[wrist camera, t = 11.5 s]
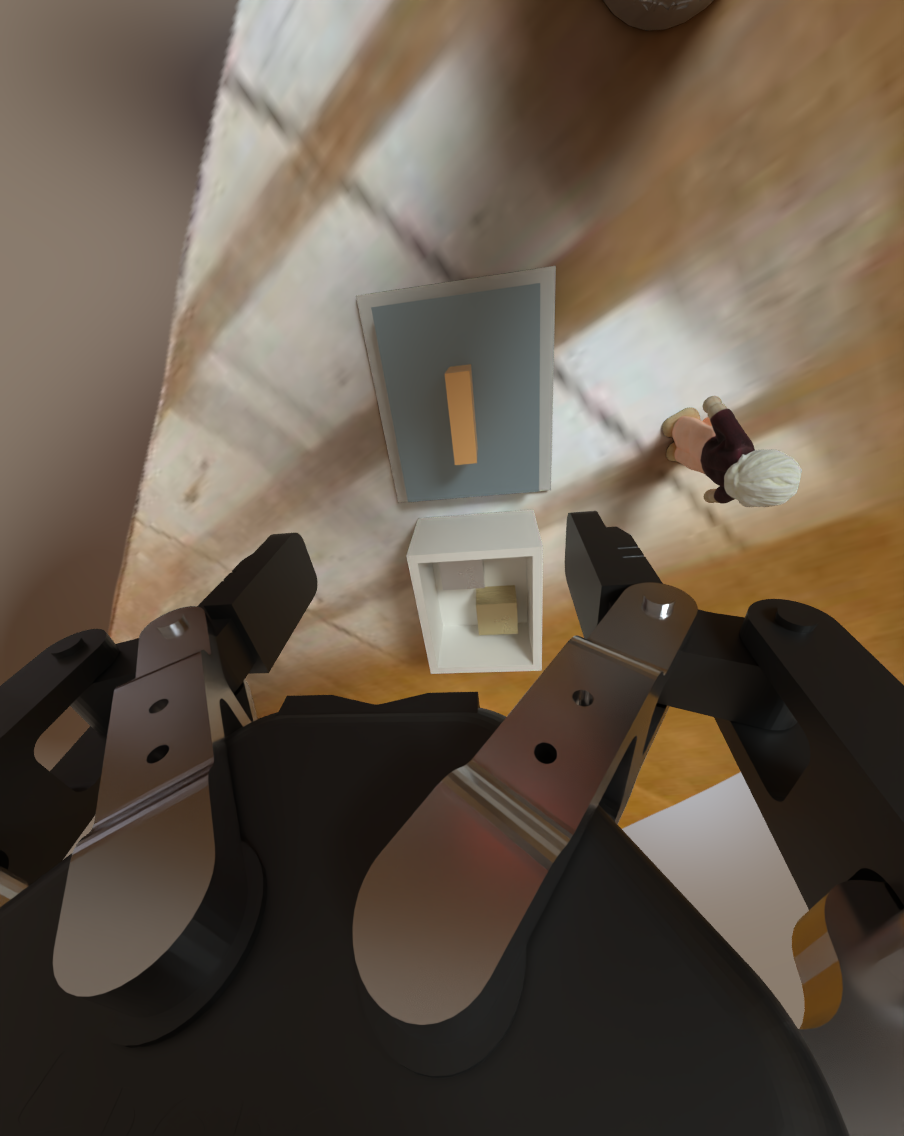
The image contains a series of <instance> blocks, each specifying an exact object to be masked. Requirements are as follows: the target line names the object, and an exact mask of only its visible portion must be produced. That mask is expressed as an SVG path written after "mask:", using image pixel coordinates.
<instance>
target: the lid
mask: <svg viewBox="0 0 904 1136" xmlns="http://www.w3.org/2000/svg"><path fill="white" fill-rule="evenodd" d="M371 310H372V315H373V320H374V325H375V331H376V336H377V341H378V346H379V352H380V357H381V362H382V368H383V373H384V378H385V383H386V389H387V394H388V399H389V405H390V410H391V415H392V420H393V426H394V431H395V436H396V441H397V447H398V452H399V457H400V463H401V468H402V473H403V478H404V484H405V489H406V494H407V499H408V502H416V501H428V500H440V499H453V498H465V497H477V496H489V495H501V494H513V493H525V492H538V491H539V435H540V283H536V284H529V285H522V286H515V287H508V288H501V289H494V290H488V291H481V292H474V293H467V294H460V295H453V296H446V297H439V298H432V299H426V300H419V301H412V302H405V303H398V304H391V305H384V306H377V307H371Z"/></svg>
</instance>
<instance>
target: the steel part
mask: <svg viewBox="0 0 904 1136" xmlns="http://www.w3.org/2000/svg"><path fill="white" fill-rule="evenodd" d="M439 567H440V574H441V580H442V586H443V590H458V589H476V588H485V571H484V559H479V560H463V561H448V562H439Z"/></svg>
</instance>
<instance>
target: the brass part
mask: <svg viewBox="0 0 904 1136" xmlns="http://www.w3.org/2000/svg"><path fill="white" fill-rule="evenodd" d="M476 611H477V620H478V630H479V635H498V634H518V619H517V599H516V591H515V585H507V586H489V587H485V588H476Z"/></svg>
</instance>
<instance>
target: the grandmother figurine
mask: <svg viewBox="0 0 904 1136" xmlns="http://www.w3.org/2000/svg"><path fill="white" fill-rule="evenodd" d="M703 410H704V411H705V412H706V413H708V417H707V418H705V419H704V420H703V421H701V420H700V415H699V413H698V411H697V410H696V409H694V408H686V409H683V410H682V411H680V412H678V413H676V414H675V415H673V416H671V417H670V418H668V419H667V420H666V421H665V422H664V423H663V427H662V429H663V433H664V435H665V436H667V437H673V439H674V443H672V444H671V445H670V446H669V447H668V449H667V454H666V456H667V458H668V459H669V460H671V461H678V462H680V463H681V464H683V465H684V466H686V467H688V468H689V469H691V470H694V471H698V472H701V473H704V474H706V476H708V477H709V478H710V479H711V480H712V481H713V482H714V483H716V484H717V485H720V487H718V488H717V489H710V490H708V491H706V492H705V494H704V499H705V501H706V502H709V503H714V502H716V503H728V502H730V501H732V500H734V499H737V500H738V501H739V503H741V504H742V505H743V506H745V507H769V506H776V505H780V504H783V503H785V502H786V501H788V500H789V499H790V498H791V497H792V496H794V495H795V494H796V492H797V490H798V486H799V482H800V477H801V472H802V470H801V468H800V467H799V464H798V463H797V462H796V461H795V460H794V459H793V458H792V457H790V456H788V455H786V454H785V453H783V452H781V451H779V450H764V449H763V450H755V449H754V446H753V443H752V441H751V440H750V438H749V437H748V436H747V434H746V433H745V432H744V430H743V429H742V427H741V425H740V424H739V423H738V421H737V420H736V418H735V416H734V414H733V413H732V411H731V410H730V409H727V407H726V406H725V405H724V404H722V401H721V399H720V398H719V397H717V396H711V397H709V398H707V399H706V400H705V401H704V403H703Z"/></svg>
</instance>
